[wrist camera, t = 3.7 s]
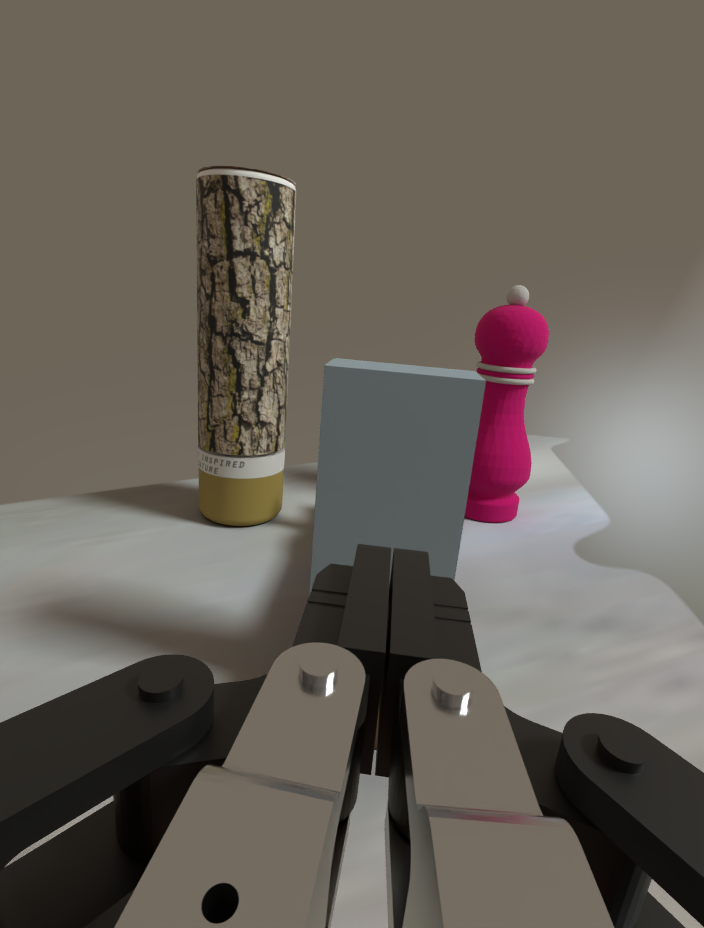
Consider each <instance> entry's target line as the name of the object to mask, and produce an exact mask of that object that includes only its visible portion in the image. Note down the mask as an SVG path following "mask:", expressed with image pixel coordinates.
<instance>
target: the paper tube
mask: <svg viewBox="0 0 704 928" xmlns="http://www.w3.org/2000/svg"><path fill="white" fill-rule="evenodd" d="M197 174H198V176H197V179H196V188H197V189H196V192H197V193H196V197H197V326H198V327H197V328H198V329H197V332H198V336H197V337H198V444H199V445H198V461H199V462H198V463H199V464H198V466H199V508H200V511H201V512H202V513H203V515H204V516H205V517H206V518H208V519H210V520H212V521H214V522H216V523H220V524H224V525H232V526H249V525H256V524H261V523H264V522H267V521H269V520H271V519H273V518H274V517H276V516H277V515H278V513H279V512H280V510H281V508H282V495H283V472H284V457H285V455H284V454H285V435H286V411H287V389H288V366H289V344H290V323H291V321H290V320H291V299H292V278H293V277H292V276H293V254H294V232H295V210H296V190H295V187H296V183H295V182H294V181H292V180H291V179H289V178H286V177H284V176H281V175H278V174H274V173H271V172H267V171H262V170H257V169H251V168H244V167H234V166H209V167H203V168H200V169H198V170H197Z"/></svg>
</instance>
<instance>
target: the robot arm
mask: <svg viewBox="0 0 704 928" xmlns="http://www.w3.org/2000/svg"><path fill="white" fill-rule="evenodd" d="M390 561H391V548H390V547H381V546H373V545H364V544H358V545H357V550H356V555H355V560H354V565H353V566H348V565H339V564H331V563H330V564H329V565H328V566H327V567H325V568H324V569H323V570H322V571H320V572H319V573H318V574H317V575H316V578H315V581H314V584H313V587H312V591H311V593H310V596H309V599H308V603H307V605H306V608H305V611H304V614H303V617H302V620H301V623H300V626H299V629H298V632H297V635H296V638H295V641H294V644H293V647H291V648H289V649H287V650H286V651H284V652H283V653H282V654H280V655H279V656H278V657H277V658H276V660H275V661H274V663H273V665H272V667H271V669H270V671H269V673H268V674H267V675H264V676H261V677H259V678H255V679H251V680H246V681H239V682H230V683H221V684H214V678H213V674H212V672H211V670H210V669H209V668H208V666H207V665H205V664H204V663H203V662H201V661H199V660H197V659H195V658H192V657H189V656H184V655H161V656H155V657H152V658H148V659H145V660H142V661H140V662H137V663H135V664H133V665H130V666H128V667H126V668H124V669H121V670H119V671H117V672H114V673H112V674H110V675H108V676H105V677H103V678H101V679H99V680H96V681H94V682H92V683H90V684H87V685H85V686H83V687H80V688H78V689H76V690H74V691H71V692H69V693H67V694H65V695H62V696H60V697H58V698H56V699H53V700H51V701H49V702H46V703H44V704H42V705H40V706H37V707H35V708H33V709H31V710H28V711H26V712H24V713H21V714H19V715H17V716H15V717H12V718H10V719H8V720H6V721H3V722H1V723H0V928H330V927H331V922H332V916H333V911H334V905H335V900H336V895H337V889H338V884H339V879H340V873H341V868H342V862H343V857H344V852H345V846H346V841H347V836H348V830H349V825H350V816H351V811H352V809H353V808H354V805H355V803H356V799H357V793H358V784H359V775H360V773H361V774H368V775H371V770H372V762H373V753H374V745H375V736H376V728H377V720H378V711H379V720H378V736H377V752H376V768H375V775H377V776H383V777H389V790H388V803H387V810H386V818H385V854H386V880H387V906H388V928H685V927H684V926H683V925H682V924H681V923H680V922H679V921H678V920H677V919H676V918H675V917H674V916H673V915H672V914H670V913H669V912H668V911H667V910H666V909H665V908H664V907H663V906H662V905H661V904H660V903H659V902H658V901H657V900H656V899H655V898H654V897H653V896H652V895H651V894H650V893H649V892H648V888H649V885H650V883H651V880H652V879H653V880H654V881H655V882H656V883H657V884H658V885H659V886H660V887H662V888H663V889H664V890H665V891H666V892H667V893H668V894H669V895H670V896H671V897H672V898H673V899H674V900H675V901H677V902H678V903H679V904H680V905H681V906H682V907H683V908H684V909H685V910H686V911H687V912H688V913H689V914H690V915H692V916H693V917H694V918H695V919H696V920H697V921H698V922H699V923H700V924H701V925H702V926H703V927H704V773H703V772H702V771H700V770H699V769H698V768H696V767H695V766H693V765H692V764H690V763H689V762H688V761H686V760H685V759H683V758H682V757H681V756H679V755H678V754H676V753H675V752H674V751H672V750H671V749H669V748H668V747H667V746H665V745H664V744H662V743H661V742H660V741H658V740H657V739H655V738H654V737H653V736H651V735H650V734H648V733H647V732H645V731H644V730H642V729H641V728H639V727H637V726H635V725H633V724H631V723H629V722H627V721H624V720H622V719H619V718H616V717H613V716H609V715H604V714H596V713H587V714H581V715H578V716H575V717H573V718H572V719H570V720H569V721H568V722H567V724H566V725H565V727H564V730H563V733H561V732H558V731H555V730H553V729H550V728H548V727H545V726H542V725H540V724H537V723H534V722H532V721H529V720H527V719H525V718H523V717H521V716H519V715H517V714H515V713H513V712H512V711H510V710H509V709H508V708H506V707H505V706H504V705H503V702H502V699H501V697H500V694H499V692H498V690H497V688H496V686H495V685H494V684H493V682H492V681H491V680H490V679H489V678H488V677H487V676H485V675H484V674H483V673H482V671H481V667H480V662H479V658H478V653H477V648H476V644H475V639H474V634H473V630H472V625H471V620H470V616H469V611H468V606H467V602H466V597H465V592H464V591H463V590H462V589H461V588H460V587H459V586H458V585H457V584H456V582H455V581H454V580H453V579H452V578H448V577H439V576H431V575H430V565H429V555H428V552H424V551H416V550H407V549H399V548H394V551H393V559H392V567H391V576H390ZM389 579H390V584H389ZM379 703H380V704H379ZM111 796H113V798H114V801H112V802H111V803H109V804H107V805H106V806H104V807H103V808H101V809H99V810H98V811H96V812H94V813H93V814H91V815H90V816H88V817H86V818H85V819H83V820H81V821H80V822H78V823H77V824H75V825H73V826H72V827H70V828H68V829H67V830H65V831H64V832H62V833H60V834H59V835H57V836H55V837H54V838H52V839H51V840H49V841H47V842H46V843H44V844H42V845H41V846H39V847H38V848H36V849H34V850H33V851H31V852H29V853H28V854H26V855H25V856H23V857H21V858H20V859H18V860H16V861H15V862H13V863H12V864H10V865H8V866H6V865H7V864H8V863H9V862H10V861H11V860H12V859H13V858H14V857H15V856H16V855H17V854H19V853H20V852H21V851H23V850H24V849H26V848H27V847H29V846H30V845H32V844H34V843H35V842H37V841H39V840H40V839H42V838H44V837H45V836H47V835H49V834H50V833H52V832H53V831H55V830H57V829H58V828H60V827H62V826H63V825H65V824H67V823H68V822H70V821H72V820H73V819H75V818H77V817H78V816H80V815H81V814H83V813H85V812H86V811H88V810H90V809H91V808H93V807H95V806H96V805H98V804H100V803H101V802H103V801H105V800H106V799H108V798H109V797H111ZM5 866H6V867H5ZM4 867H5V868H4Z"/></svg>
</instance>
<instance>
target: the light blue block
mask: <svg viewBox="0 0 704 928" xmlns="http://www.w3.org/2000/svg"><path fill="white" fill-rule="evenodd" d="M485 384H486V380H485V379H484V378H483V377H481V376H480V375H479V374H478V373H477V372H475V371H466V370H456V369H444V368H434V367H423V366H412V365H401V364H391V363H380V362H370V361H359V360H348V359H337V358H334V359H333V360H332V361H330V362H328V363H327V364H325V365H324V377H323V394H322V408H321V424H320V439H319V455H318V469H317V485H316V500H315V515H314V531H313V546H312V561H311V577H310V592H309V596H310V593H311V591H312V587H313V584H314V581H315V578H316V575H317V574H318V573H319V572H320V571H322V570H323V569H324V568H325V567H327V566H328V565H329V564H330V563H331V564H339V565H348V566H353V565H354V560H355V555H356V550H357V545H358V544H364V545H373V546H381V547H390V548H391V561H390V576H391V567H392V559H393V551H394V548H399V549H407V550H416V551H424V552H428V555H429V565H430V575H431V576H439V577H448V578H452V579H453V580H454V579H455V573H456V567H457V560H458V554H459V548H460V541H461V535H462V529H463V522H464V516H465V510H466V504H467V497H468V491H469V485H470V478H471V472H472V466H473V460H474V453H475V447H476V441H477V434H478V428H479V422H480V416H481V409H482V403H483V397H484V390H485ZM389 584H390V579H389Z"/></svg>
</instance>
